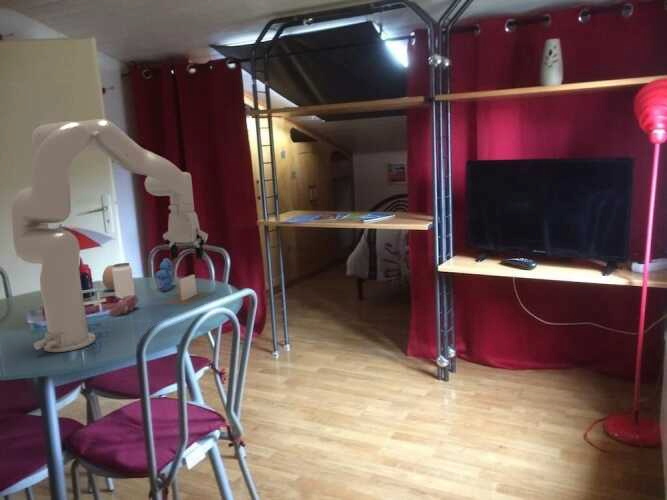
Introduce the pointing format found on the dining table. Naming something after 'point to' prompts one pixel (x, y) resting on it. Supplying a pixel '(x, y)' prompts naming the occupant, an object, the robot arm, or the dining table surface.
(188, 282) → the tile
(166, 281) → the grapes
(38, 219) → the robot arm
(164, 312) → the dining table surface
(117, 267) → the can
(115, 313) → the red lumpy clump
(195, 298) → the mat
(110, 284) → the egg
